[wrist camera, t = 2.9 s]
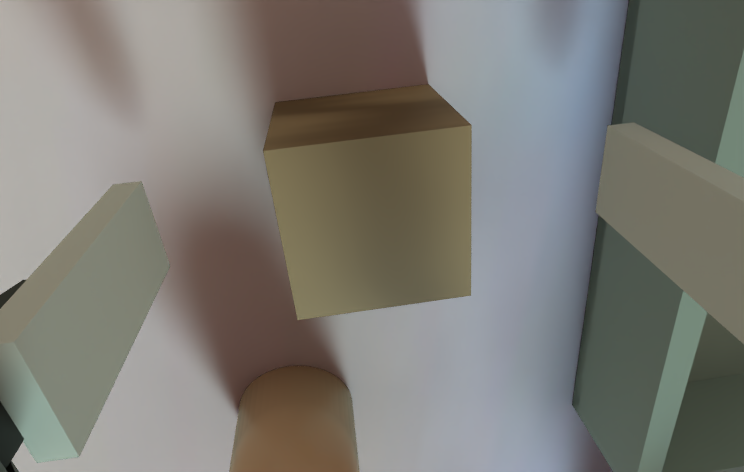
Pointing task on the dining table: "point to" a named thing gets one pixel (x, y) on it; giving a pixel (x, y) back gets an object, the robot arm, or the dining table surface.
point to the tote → (646, 281)
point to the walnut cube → (371, 199)
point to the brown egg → (295, 424)
